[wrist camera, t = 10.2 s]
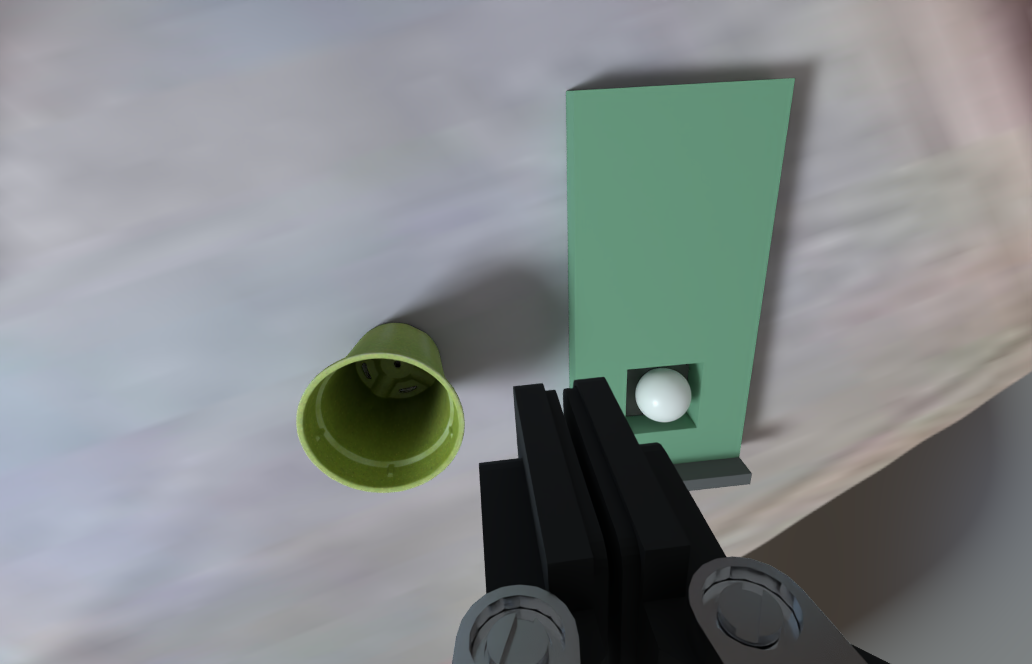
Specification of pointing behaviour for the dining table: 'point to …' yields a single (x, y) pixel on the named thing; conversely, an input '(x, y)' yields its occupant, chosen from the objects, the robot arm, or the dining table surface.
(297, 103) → the dining table surface
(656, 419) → the ball
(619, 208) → the green
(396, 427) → the plant pot
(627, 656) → the robot arm
